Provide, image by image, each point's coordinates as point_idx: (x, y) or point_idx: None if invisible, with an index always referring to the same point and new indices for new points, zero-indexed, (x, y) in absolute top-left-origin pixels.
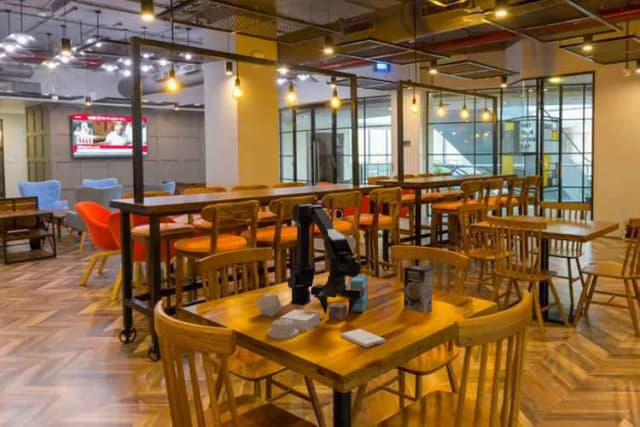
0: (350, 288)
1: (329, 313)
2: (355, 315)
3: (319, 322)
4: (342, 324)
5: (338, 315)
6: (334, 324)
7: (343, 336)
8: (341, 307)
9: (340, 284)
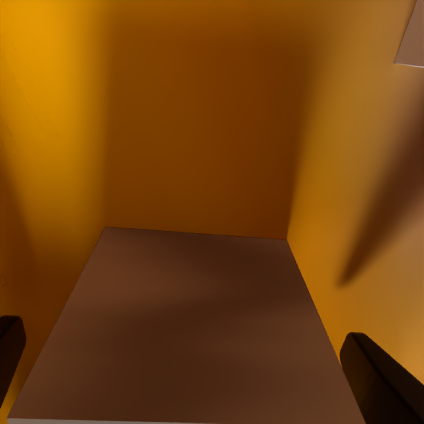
0: None
1: (293, 297)
2: None
3: (405, 50)
4: (13, 79)
5: (135, 275)
6: (136, 40)
7: None
8: (7, 420)
9: None
